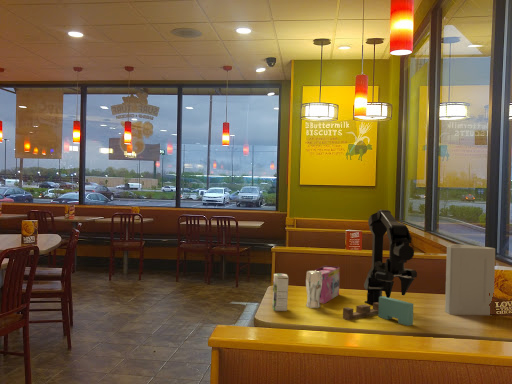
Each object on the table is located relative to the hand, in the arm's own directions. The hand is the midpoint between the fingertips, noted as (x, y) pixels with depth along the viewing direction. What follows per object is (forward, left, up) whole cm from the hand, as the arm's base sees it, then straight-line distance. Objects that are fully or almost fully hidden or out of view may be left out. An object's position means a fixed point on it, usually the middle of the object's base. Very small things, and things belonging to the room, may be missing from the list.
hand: (395, 296), depth 175 cm
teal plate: (0, 0, -9) cm, 9 cm away
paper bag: (-41, +4, -10) cm, 42 cm away
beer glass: (+14, -32, -10) cm, 36 cm away
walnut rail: (+6, -11, -9) cm, 16 cm away
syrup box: (+30, -35, -10) cm, 47 cm away
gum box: (-2, -42, -10) cm, 43 cm away
